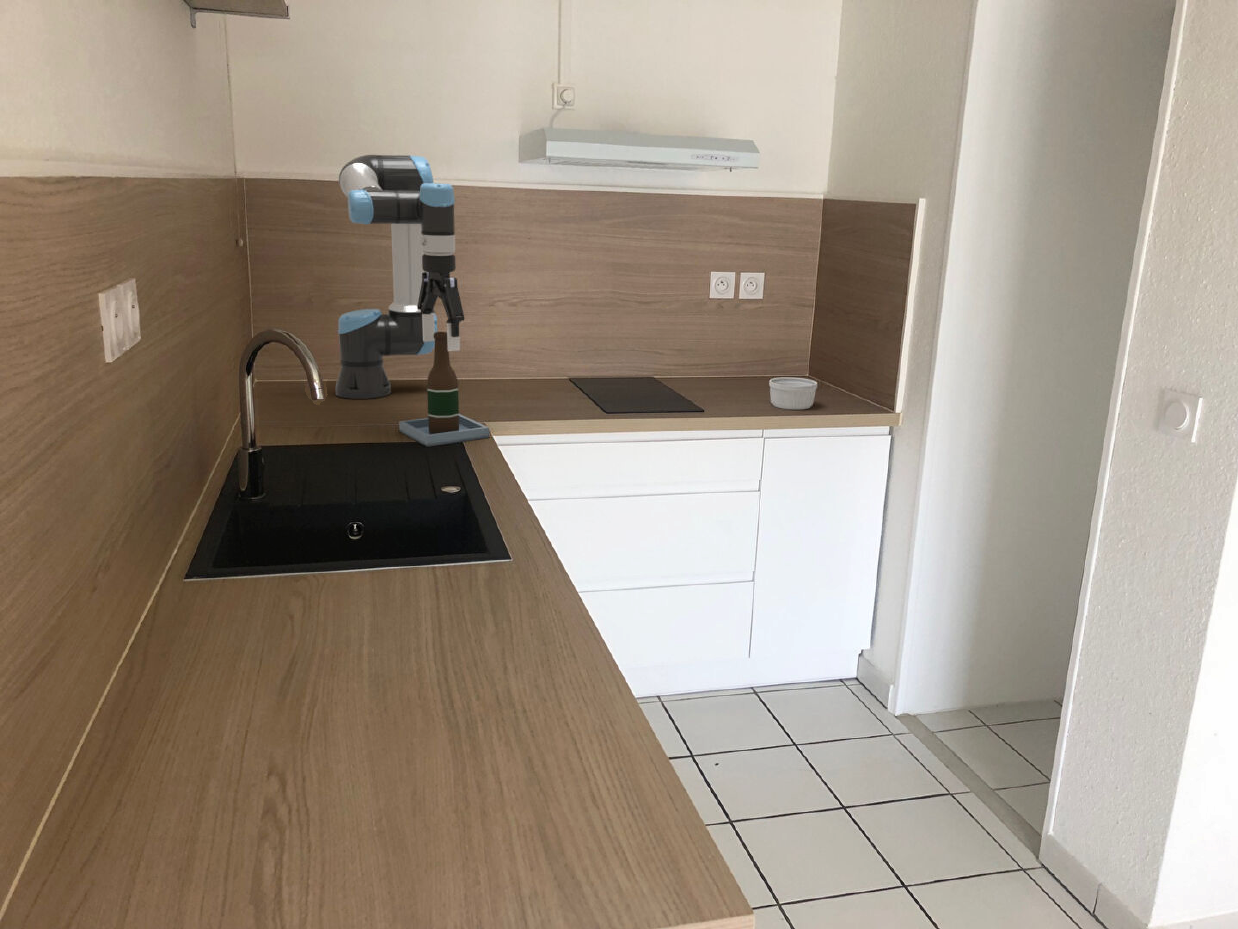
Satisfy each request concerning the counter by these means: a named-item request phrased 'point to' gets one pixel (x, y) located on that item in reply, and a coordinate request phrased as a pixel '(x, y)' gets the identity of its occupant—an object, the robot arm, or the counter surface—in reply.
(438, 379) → the beer bottle
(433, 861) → the counter surface
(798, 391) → the ramekin
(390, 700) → the counter surface
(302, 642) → the counter surface
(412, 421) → the dish
